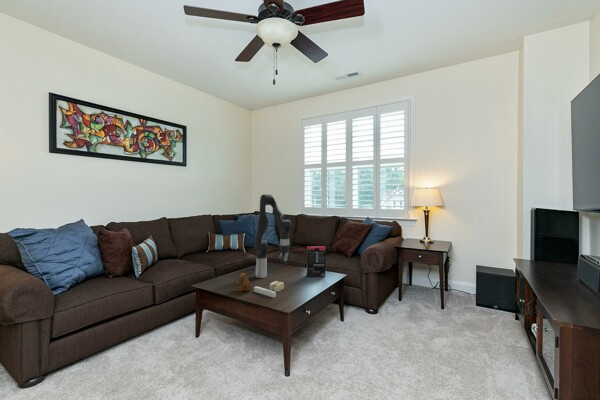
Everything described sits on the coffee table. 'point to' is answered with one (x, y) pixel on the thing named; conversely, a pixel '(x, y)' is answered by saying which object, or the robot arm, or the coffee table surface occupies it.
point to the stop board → (265, 291)
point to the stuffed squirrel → (243, 283)
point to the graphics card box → (316, 261)
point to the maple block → (276, 286)
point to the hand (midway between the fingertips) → (284, 265)
